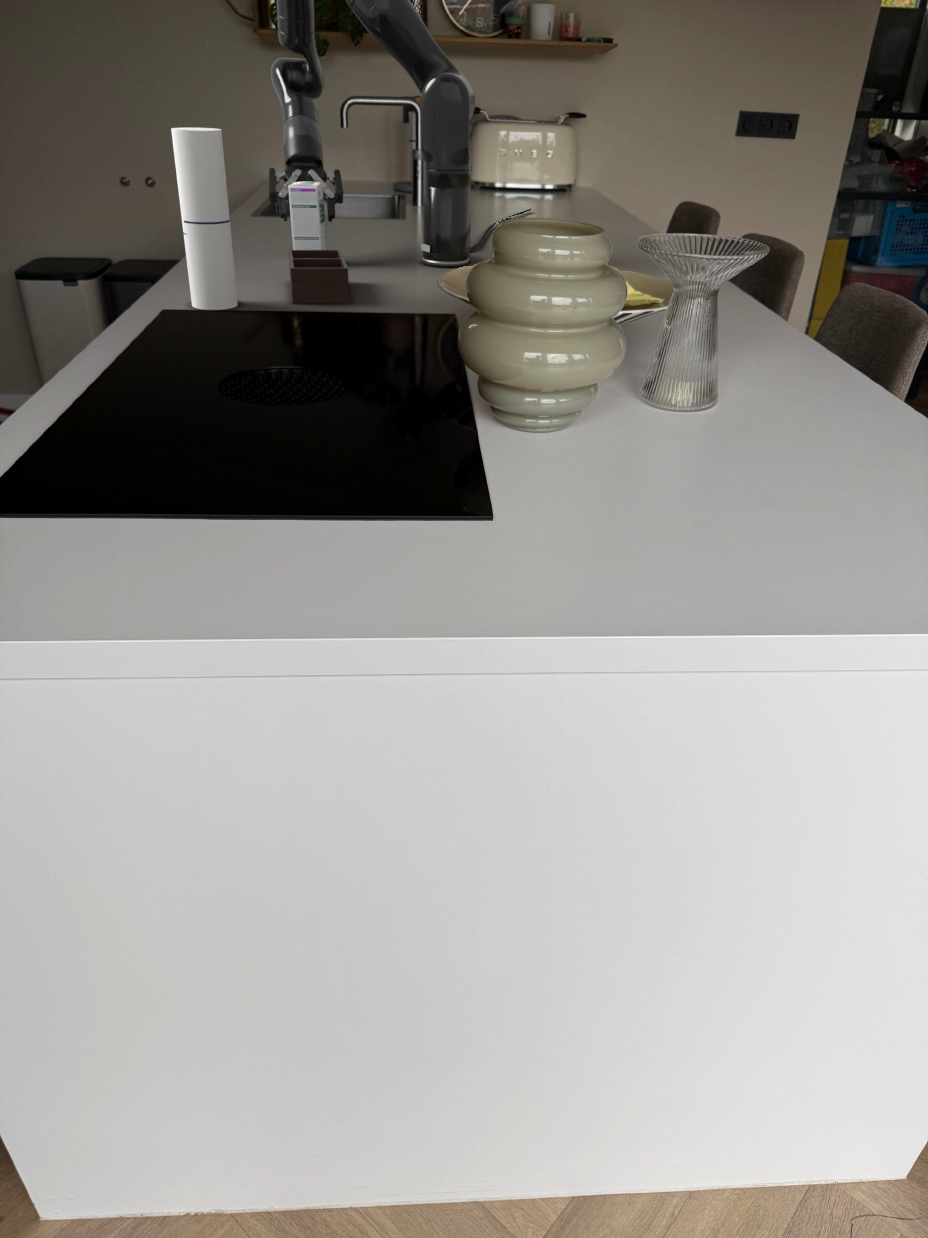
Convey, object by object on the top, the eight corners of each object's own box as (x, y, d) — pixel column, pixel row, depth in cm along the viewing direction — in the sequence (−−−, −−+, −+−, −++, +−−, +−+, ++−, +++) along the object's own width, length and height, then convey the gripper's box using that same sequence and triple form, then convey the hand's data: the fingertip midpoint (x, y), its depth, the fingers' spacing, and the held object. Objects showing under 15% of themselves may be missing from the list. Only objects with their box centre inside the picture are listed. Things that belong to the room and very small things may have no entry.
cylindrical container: (211, 311, 143) (192, 130, 130) (182, 304, 146) (160, 127, 134) (247, 304, 148) (231, 129, 135) (217, 298, 151) (200, 126, 139)
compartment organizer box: (290, 282, 165) (288, 249, 162) (341, 281, 166) (340, 249, 163) (292, 303, 150) (290, 268, 147) (349, 303, 151) (347, 267, 148)
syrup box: (323, 266, 179) (319, 184, 171) (293, 265, 179) (287, 183, 171) (327, 261, 184) (323, 181, 176) (298, 260, 184) (293, 180, 176)
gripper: (264, 132, 175) (269, 204, 172) (339, 134, 178) (345, 205, 174) (267, 160, 183) (271, 231, 179) (338, 162, 185) (344, 231, 181)
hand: (308, 218), depth 176 cm, fingers open, 8 cm apart
